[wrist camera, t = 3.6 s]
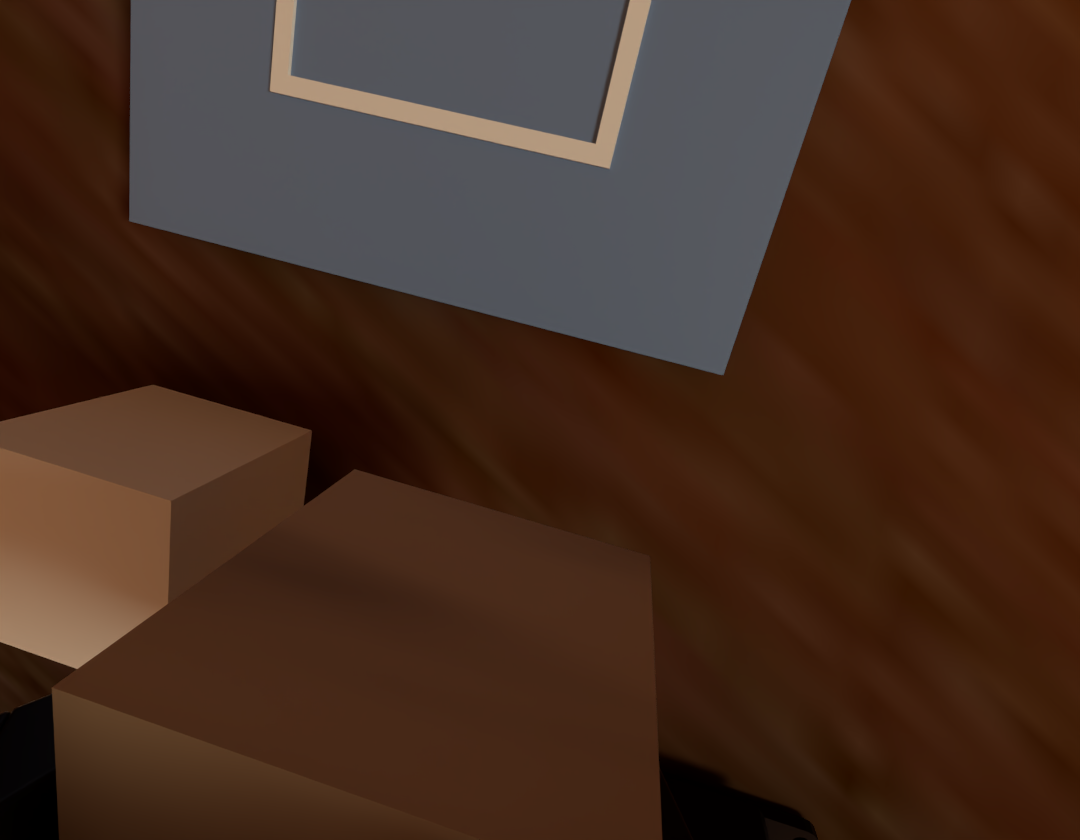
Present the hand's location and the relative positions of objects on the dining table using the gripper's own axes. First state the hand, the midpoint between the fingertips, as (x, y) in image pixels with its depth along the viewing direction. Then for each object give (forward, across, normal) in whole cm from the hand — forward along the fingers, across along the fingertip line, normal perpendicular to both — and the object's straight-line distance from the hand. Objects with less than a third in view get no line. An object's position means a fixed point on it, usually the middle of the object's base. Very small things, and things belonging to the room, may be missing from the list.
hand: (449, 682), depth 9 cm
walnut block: (+1, 0, 0) cm, 1 cm away
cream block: (+7, +9, +2) cm, 11 cm away
